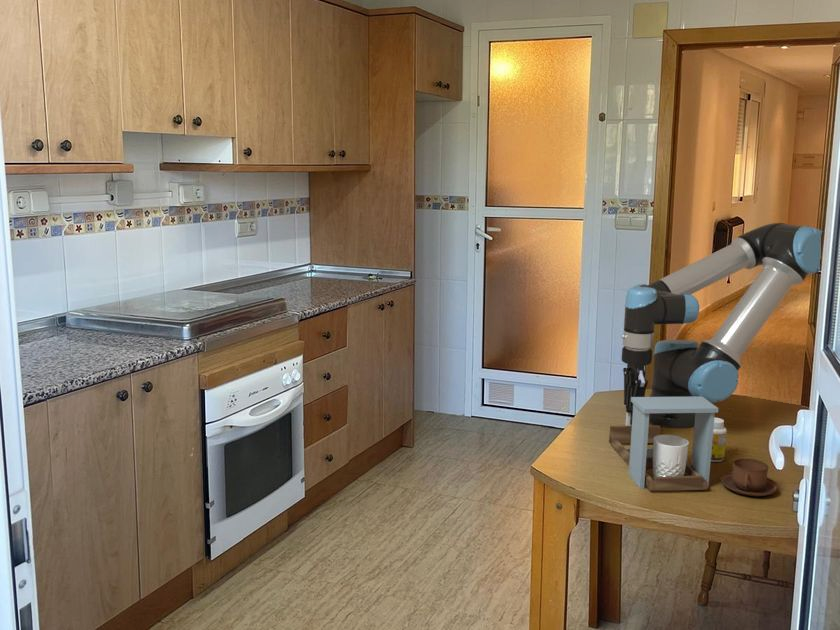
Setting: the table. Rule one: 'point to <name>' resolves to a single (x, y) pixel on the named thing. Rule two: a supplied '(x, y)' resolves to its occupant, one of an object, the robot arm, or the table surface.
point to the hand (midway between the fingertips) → (630, 434)
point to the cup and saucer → (749, 478)
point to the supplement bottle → (718, 440)
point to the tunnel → (671, 405)
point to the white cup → (669, 455)
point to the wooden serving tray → (660, 482)
